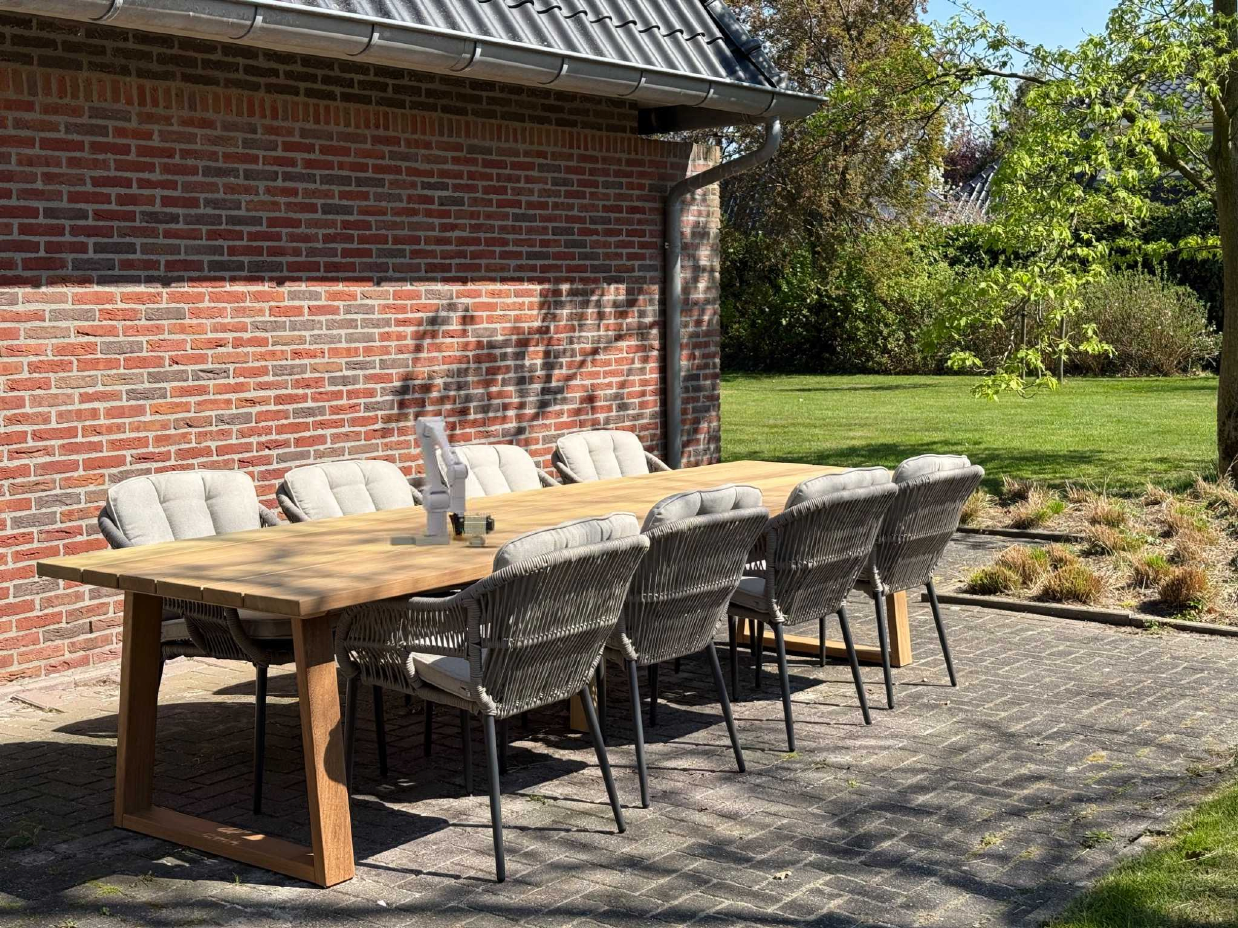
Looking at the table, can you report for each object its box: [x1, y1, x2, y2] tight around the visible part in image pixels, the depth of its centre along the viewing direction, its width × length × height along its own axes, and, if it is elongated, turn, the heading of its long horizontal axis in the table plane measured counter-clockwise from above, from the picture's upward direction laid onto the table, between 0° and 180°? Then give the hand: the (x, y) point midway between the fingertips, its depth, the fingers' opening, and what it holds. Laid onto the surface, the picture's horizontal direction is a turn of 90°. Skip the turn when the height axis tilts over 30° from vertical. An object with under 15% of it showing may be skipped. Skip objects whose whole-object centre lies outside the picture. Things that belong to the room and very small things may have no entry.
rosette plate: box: [389, 533, 451, 547], centre depth 532 cm, size 12×20×2 cm, turn 107°
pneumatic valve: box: [459, 512, 496, 548], centre depth 522 cm, size 6×12×12 cm, turn 82°
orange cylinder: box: [453, 528, 463, 541], centre depth 540 cm, size 3×3×7 cm
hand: (457, 534), depth 540 cm, fingers closed on orange cylinder, 3 cm apart
